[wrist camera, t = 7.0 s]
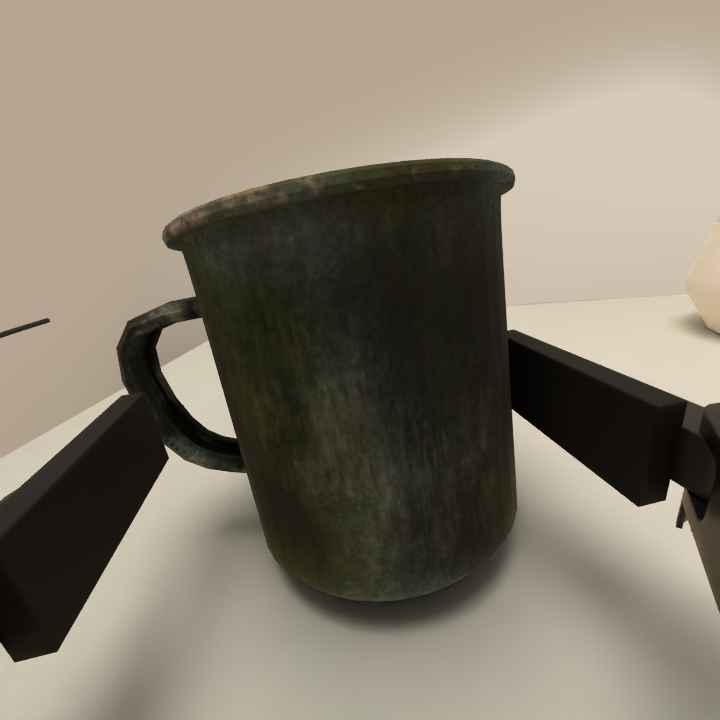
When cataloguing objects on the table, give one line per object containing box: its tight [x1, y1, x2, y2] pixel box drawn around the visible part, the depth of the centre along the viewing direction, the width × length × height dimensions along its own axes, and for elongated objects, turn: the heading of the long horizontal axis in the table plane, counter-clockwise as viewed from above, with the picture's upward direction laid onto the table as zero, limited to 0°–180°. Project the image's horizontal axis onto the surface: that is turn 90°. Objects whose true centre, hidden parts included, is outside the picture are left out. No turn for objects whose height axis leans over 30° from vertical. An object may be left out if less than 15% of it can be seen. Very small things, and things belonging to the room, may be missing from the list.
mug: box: [116, 158, 517, 602], centre depth 14 cm, size 11×15×12 cm
